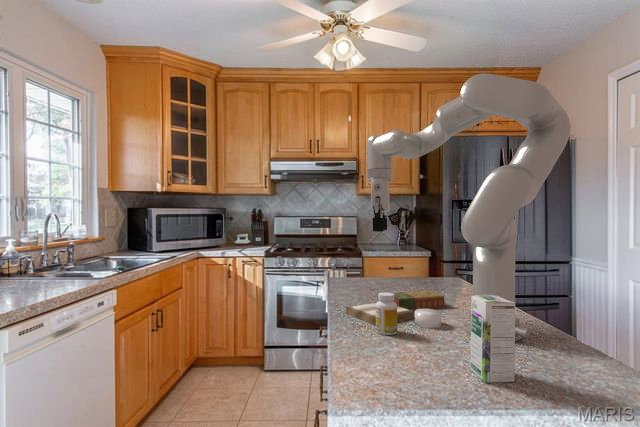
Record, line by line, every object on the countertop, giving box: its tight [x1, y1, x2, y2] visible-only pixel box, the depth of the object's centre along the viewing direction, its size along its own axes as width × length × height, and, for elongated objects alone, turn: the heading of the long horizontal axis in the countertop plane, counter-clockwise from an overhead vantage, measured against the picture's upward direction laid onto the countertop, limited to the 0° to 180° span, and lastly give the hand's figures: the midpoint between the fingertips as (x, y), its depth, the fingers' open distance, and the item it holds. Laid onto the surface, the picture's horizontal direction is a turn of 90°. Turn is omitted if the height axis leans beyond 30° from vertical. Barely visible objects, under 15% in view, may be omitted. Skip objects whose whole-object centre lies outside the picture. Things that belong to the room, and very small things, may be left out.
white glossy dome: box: [414, 308, 443, 329], centre depth 98 cm, size 7×7×4 cm
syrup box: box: [470, 295, 516, 384], centre depth 67 cm, size 6×6×14 cm
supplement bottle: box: [375, 292, 398, 336], centre depth 92 cm, size 5×5×10 cm
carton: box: [392, 290, 446, 311], centre depth 118 cm, size 8×16×4 cm, turn 103°
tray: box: [345, 301, 415, 327], centre depth 106 cm, size 14×14×2 cm
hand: (380, 230), depth 112 cm, fingers open, 9 cm apart
